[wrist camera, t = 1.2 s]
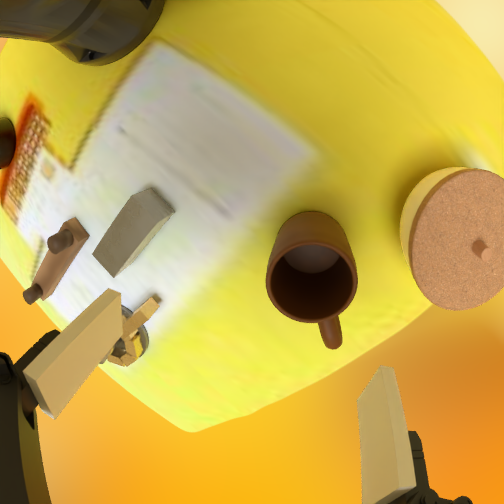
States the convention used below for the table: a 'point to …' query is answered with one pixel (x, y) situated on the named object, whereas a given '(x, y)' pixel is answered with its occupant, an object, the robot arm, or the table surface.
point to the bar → (132, 230)
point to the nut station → (120, 341)
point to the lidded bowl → (455, 236)
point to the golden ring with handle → (133, 334)
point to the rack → (56, 260)
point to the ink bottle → (6, 142)
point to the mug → (312, 273)
